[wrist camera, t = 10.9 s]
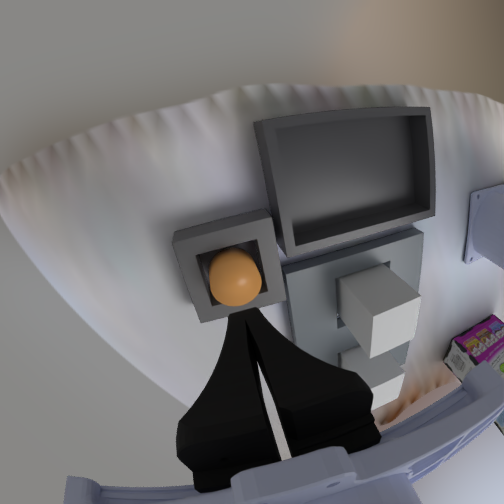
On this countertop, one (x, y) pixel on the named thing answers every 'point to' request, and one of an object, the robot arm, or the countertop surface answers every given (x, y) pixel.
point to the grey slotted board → (324, 291)
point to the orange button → (234, 277)
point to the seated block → (374, 373)
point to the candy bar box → (479, 352)
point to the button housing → (225, 235)
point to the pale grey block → (377, 308)
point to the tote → (346, 173)
